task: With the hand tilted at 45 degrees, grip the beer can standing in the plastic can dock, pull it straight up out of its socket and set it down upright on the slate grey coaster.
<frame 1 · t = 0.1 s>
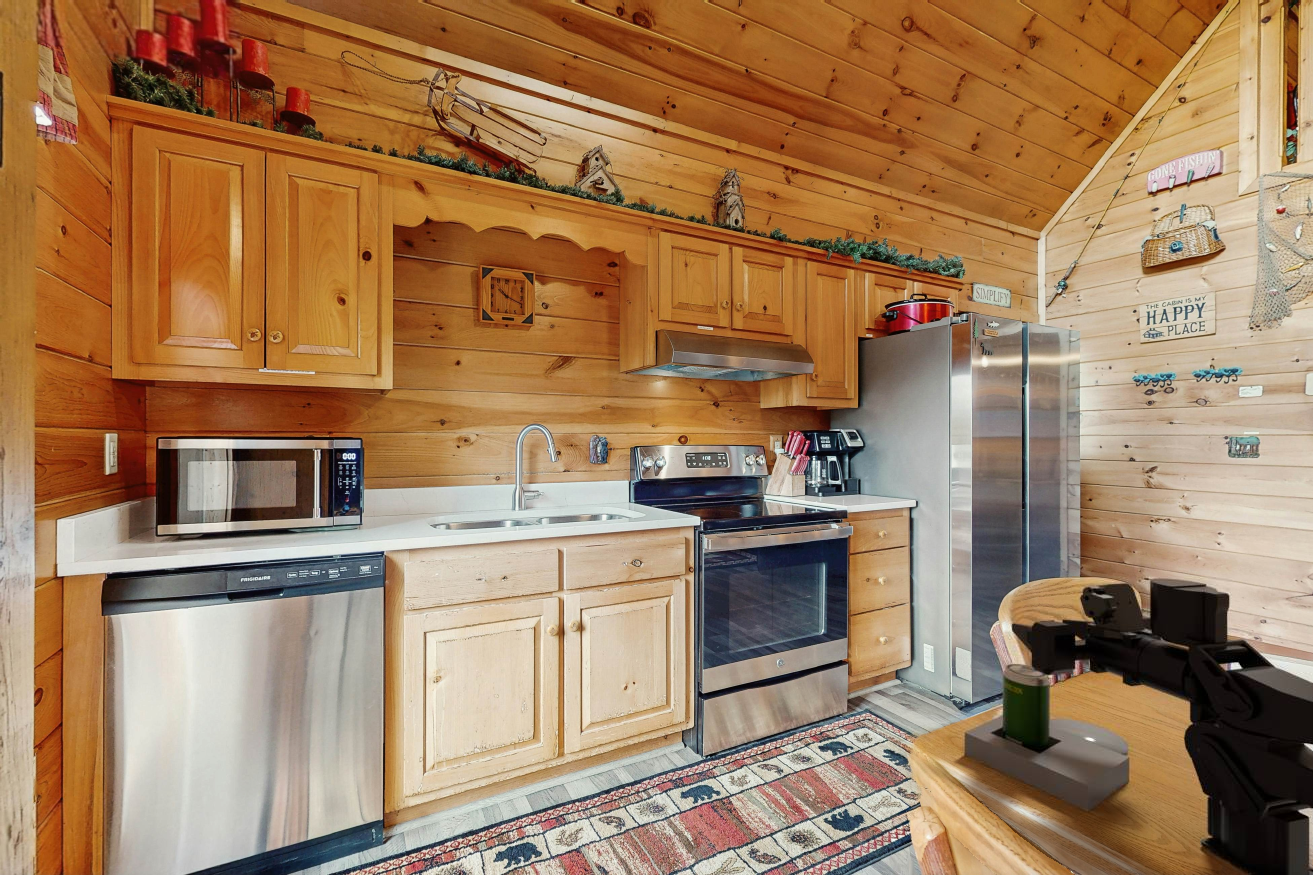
hand: (1038, 624, 84), 17 cm above the table, tool horizontal, fingers open, 9 cm apart
can dock: (1037, 764, 77), on the table
beer can: (1025, 760, 78), resting in can dock
coaster: (1084, 738, 84), on the table
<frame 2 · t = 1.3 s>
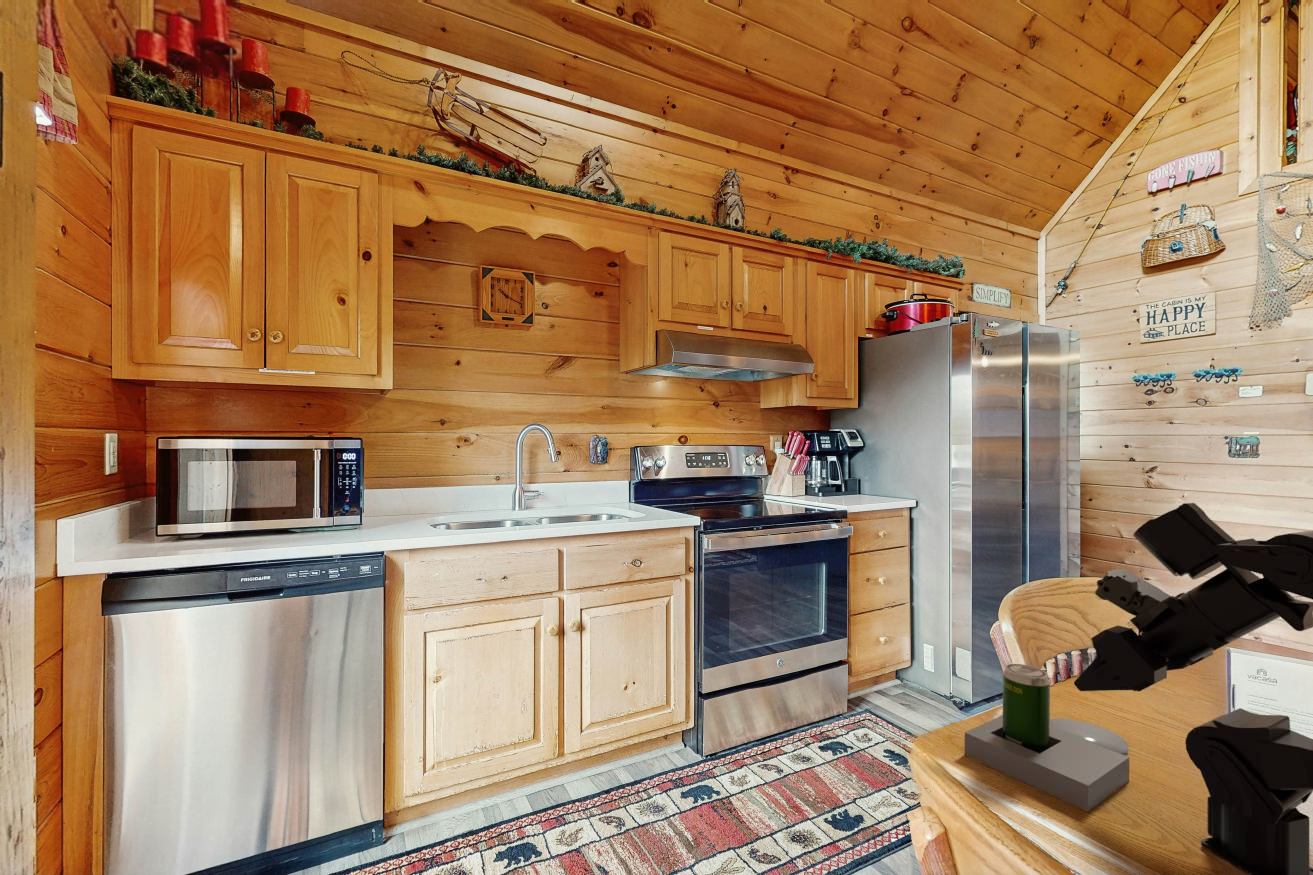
hand: (1094, 679, 72), 14 cm above the table, tool tilted 45°, fingers open, 9 cm apart
nothing on the table moved.
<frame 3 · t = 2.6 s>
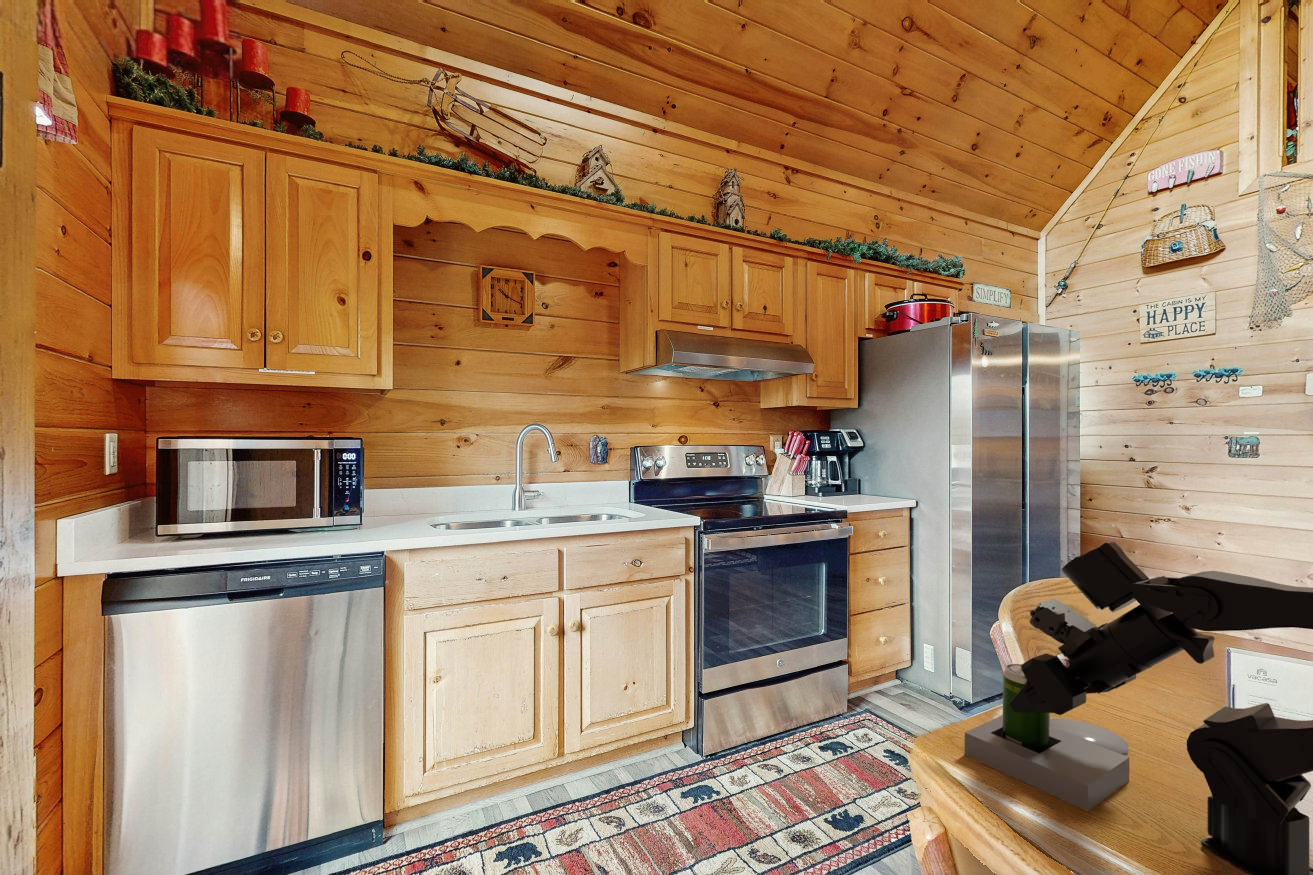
hand: (1029, 700, 78), 8 cm above the table, tool tilted 45°, fingers open, 9 cm apart
nothing on the table moved.
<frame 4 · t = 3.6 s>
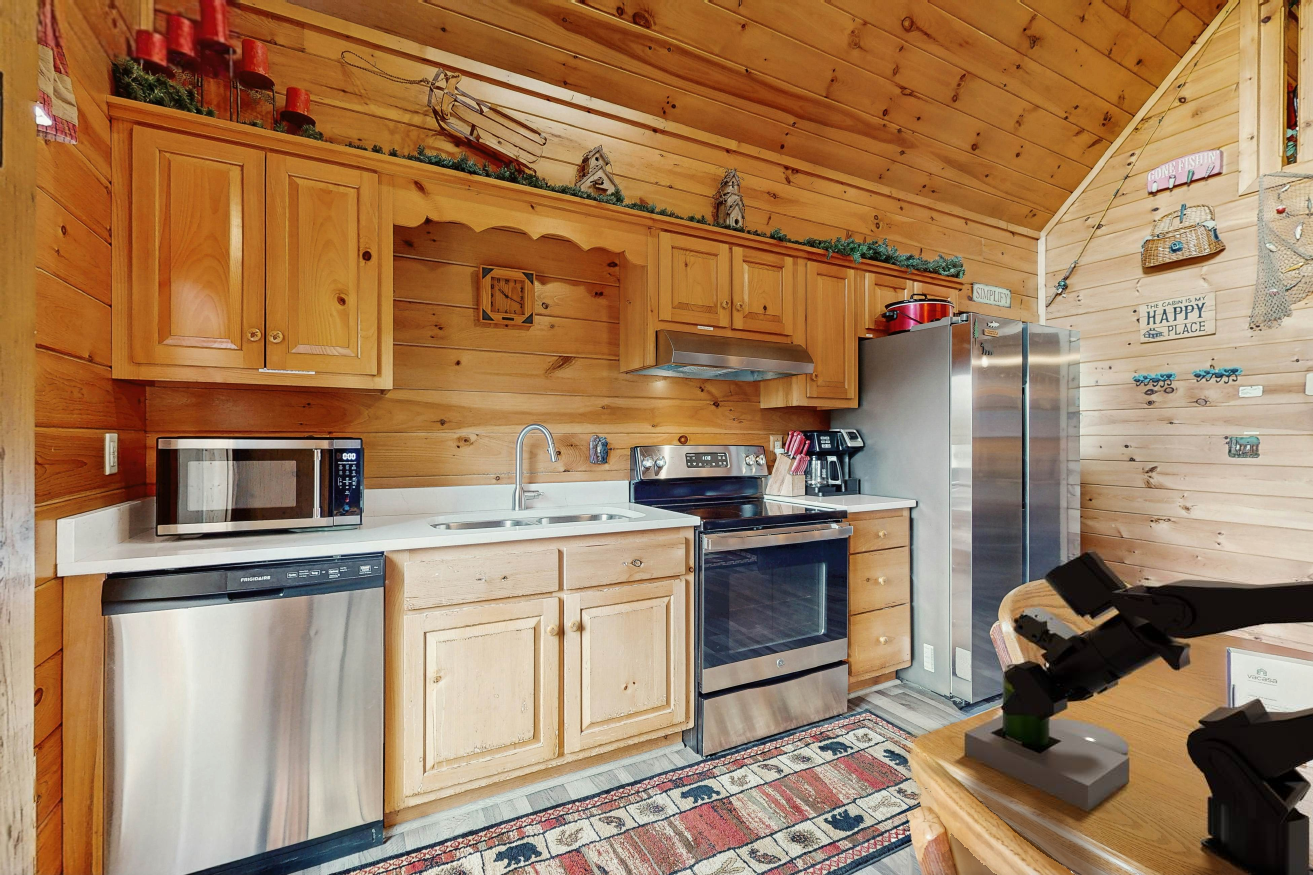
hand: (1014, 706, 79), 7 cm above the table, tool tilted 45°, fingers closed on beer can, 5 cm apart
beer can: (1025, 760, 78), resting in can dock, touching gripper
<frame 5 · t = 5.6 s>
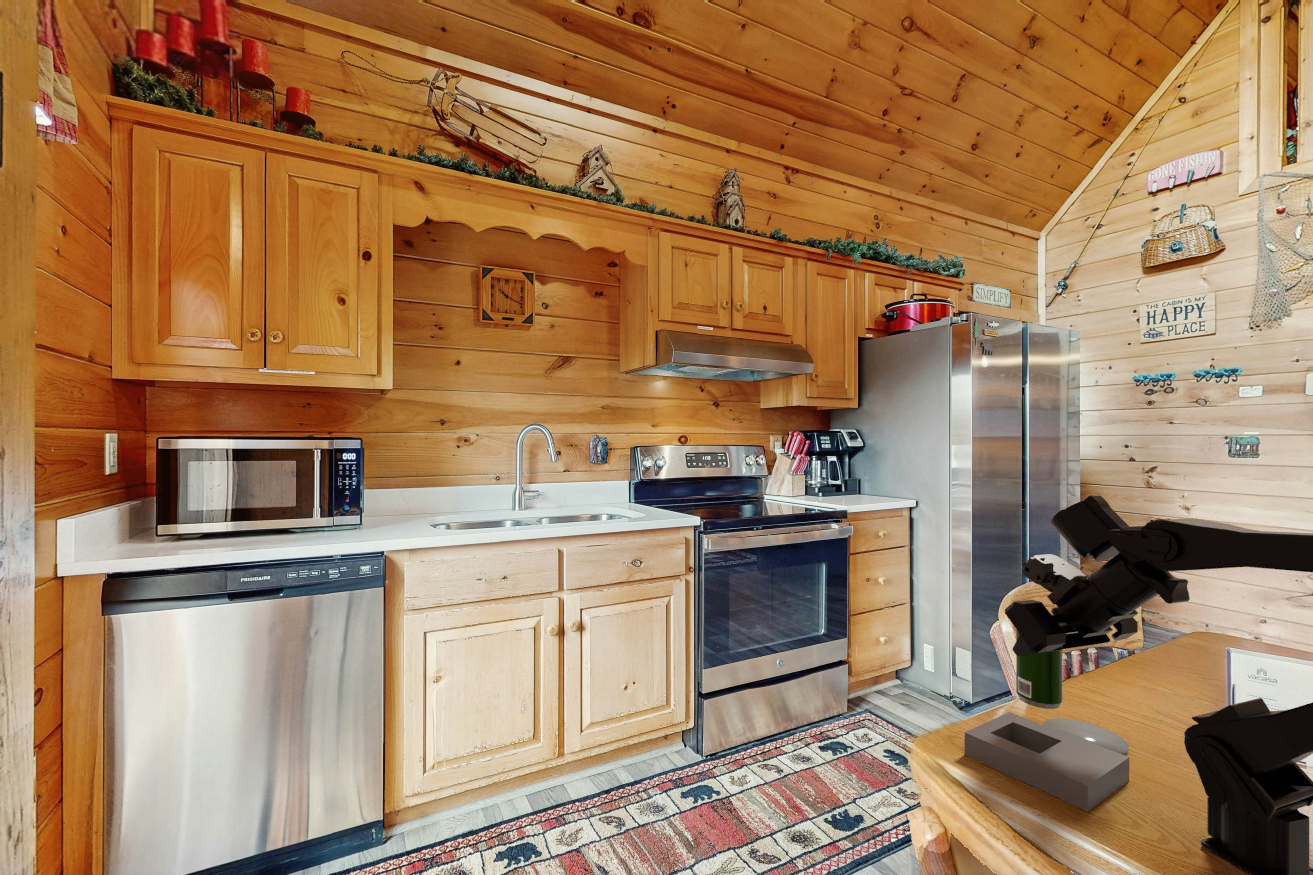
hand: (1029, 650, 82), 13 cm above the table, tool tilted 45°, fingers closed on beer can, 5 cm apart
beer can: (1038, 702, 81), point 7 cm above the table, touching gripper
when the fingers open (8 cm above the table, at t = 7.6 s): beer can stays where it is, resting on coaster.
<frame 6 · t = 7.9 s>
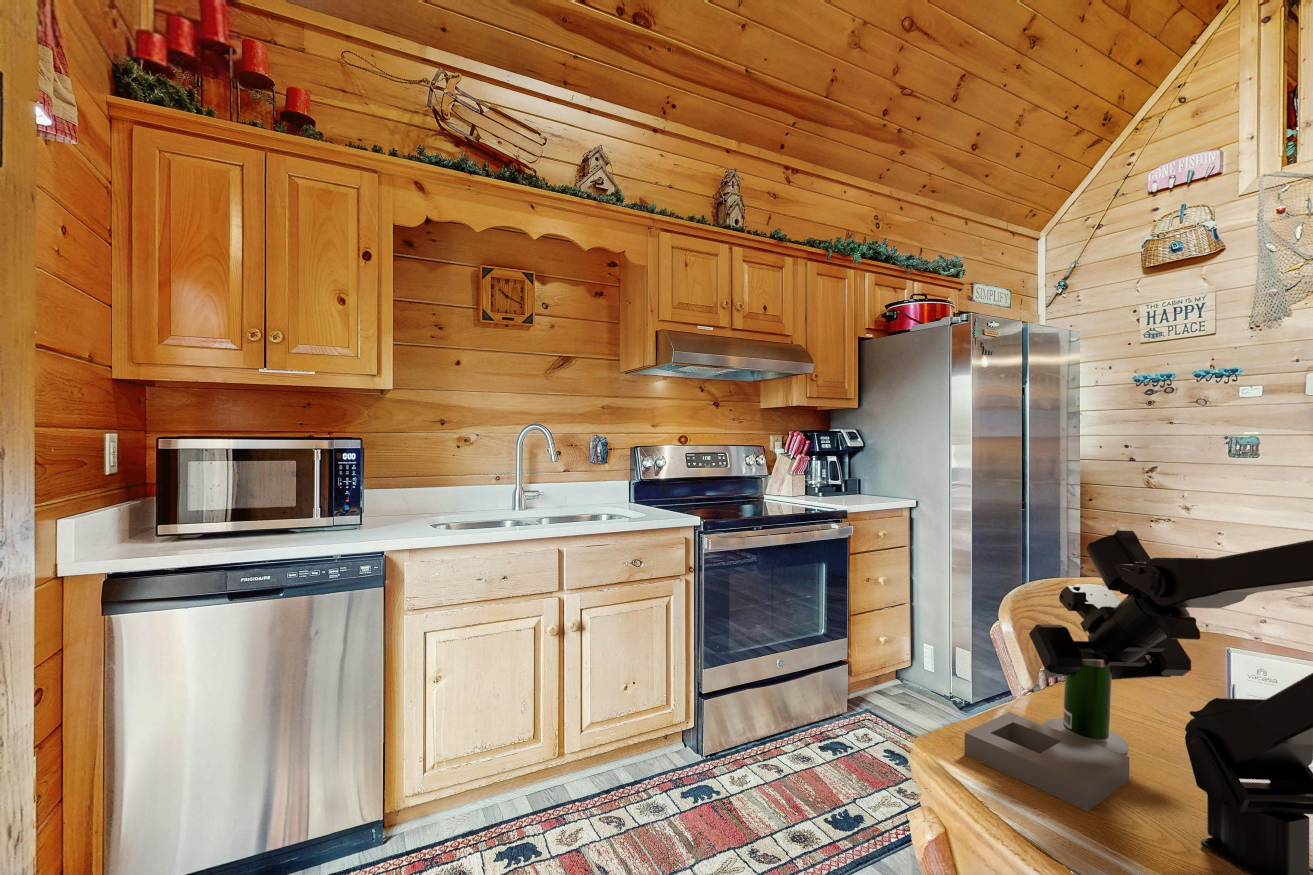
hand: (1077, 675, 86), 9 cm above the table, tool tilted 45°, fingers open, 9 cm apart
beer can: (1085, 735, 84), point 1 cm above the table, touching coaster
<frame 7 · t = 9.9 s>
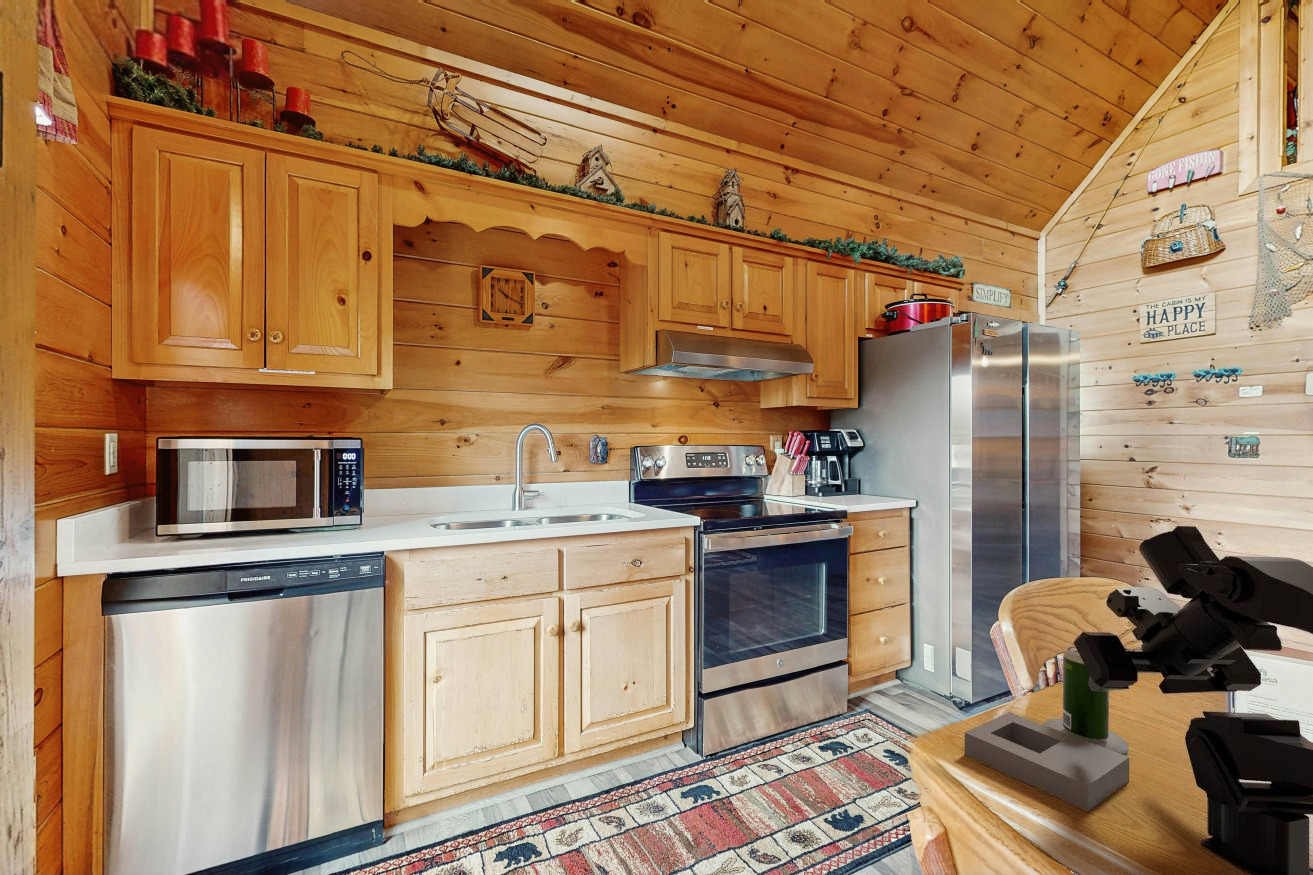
hand: (1126, 688, 76), 10 cm above the table, tool tilted 45°, fingers open, 9 cm apart
nothing on the table moved.
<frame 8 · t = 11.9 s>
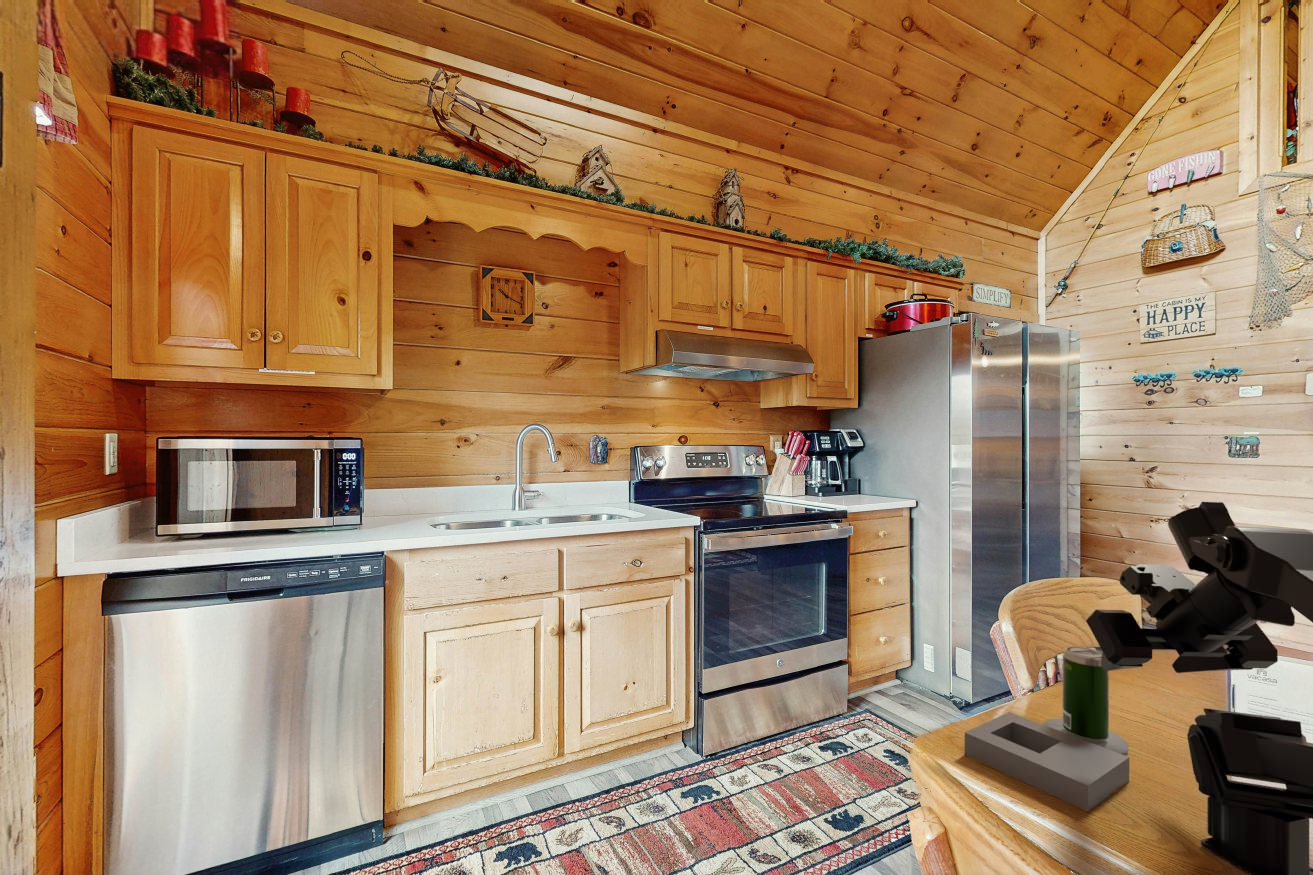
hand: (1139, 668, 76), 14 cm above the table, tool tilted 45°, fingers open, 9 cm apart
nothing on the table moved.
at the end: beer can 0.2 cm off-centre on the coaster, point 0.4 cm above the coaster's base; beer can tilted 0°; the gripper is holding nothing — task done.
